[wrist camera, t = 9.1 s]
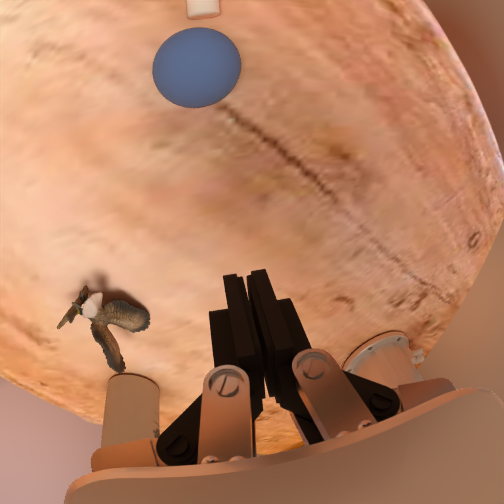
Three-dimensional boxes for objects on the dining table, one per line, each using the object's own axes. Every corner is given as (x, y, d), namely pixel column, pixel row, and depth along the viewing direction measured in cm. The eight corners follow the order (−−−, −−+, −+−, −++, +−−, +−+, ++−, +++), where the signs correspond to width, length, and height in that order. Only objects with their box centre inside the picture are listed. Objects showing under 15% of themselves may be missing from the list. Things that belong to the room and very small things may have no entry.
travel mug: (107, 393, 38) (99, 496, 23) (110, 367, 34) (98, 488, 19) (154, 403, 40) (157, 505, 25) (164, 379, 37) (168, 498, 22)
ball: (243, 59, 13) (248, 116, 19) (232, 6, 14) (238, 61, 20) (136, 80, 13) (165, 130, 19) (145, 24, 14) (166, 74, 20)
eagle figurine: (62, 319, 28) (122, 365, 30) (49, 335, 21) (124, 390, 24) (98, 269, 30) (157, 317, 33) (91, 272, 23) (166, 331, 26)
